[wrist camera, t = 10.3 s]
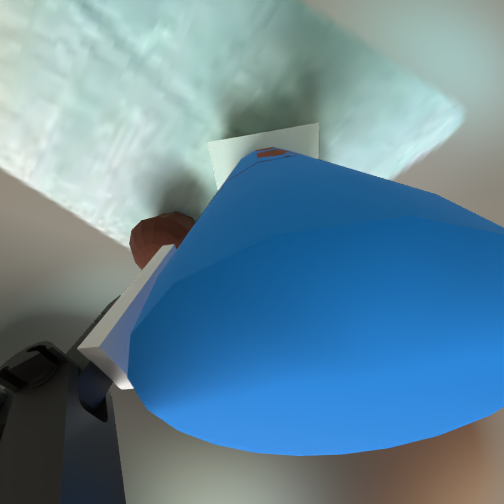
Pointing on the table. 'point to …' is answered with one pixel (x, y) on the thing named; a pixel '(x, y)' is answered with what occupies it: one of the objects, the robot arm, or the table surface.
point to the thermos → (324, 314)
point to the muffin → (158, 235)
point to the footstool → (261, 147)
